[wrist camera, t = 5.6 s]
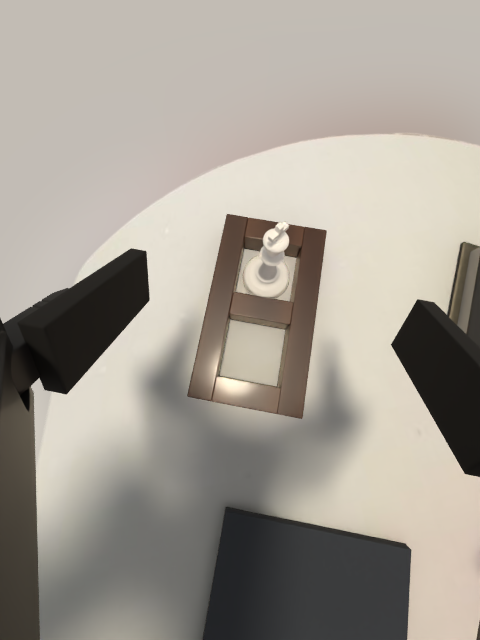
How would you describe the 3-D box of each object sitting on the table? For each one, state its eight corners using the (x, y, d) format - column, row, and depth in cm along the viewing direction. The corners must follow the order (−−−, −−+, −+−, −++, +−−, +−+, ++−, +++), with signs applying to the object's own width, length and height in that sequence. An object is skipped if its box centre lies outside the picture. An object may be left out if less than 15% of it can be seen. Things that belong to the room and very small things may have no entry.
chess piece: (233, 276, 28) (229, 223, 18) (266, 247, 29) (280, 181, 19) (265, 309, 27) (280, 273, 17) (298, 278, 28) (330, 227, 18)
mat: (197, 671, 21) (195, 683, 20) (225, 506, 23) (225, 511, 23) (397, 717, 21) (403, 731, 20) (405, 543, 23) (411, 549, 22)
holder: (192, 394, 25) (186, 396, 23) (227, 227, 29) (226, 213, 27) (296, 414, 25) (302, 418, 23) (319, 242, 29) (326, 230, 26)
